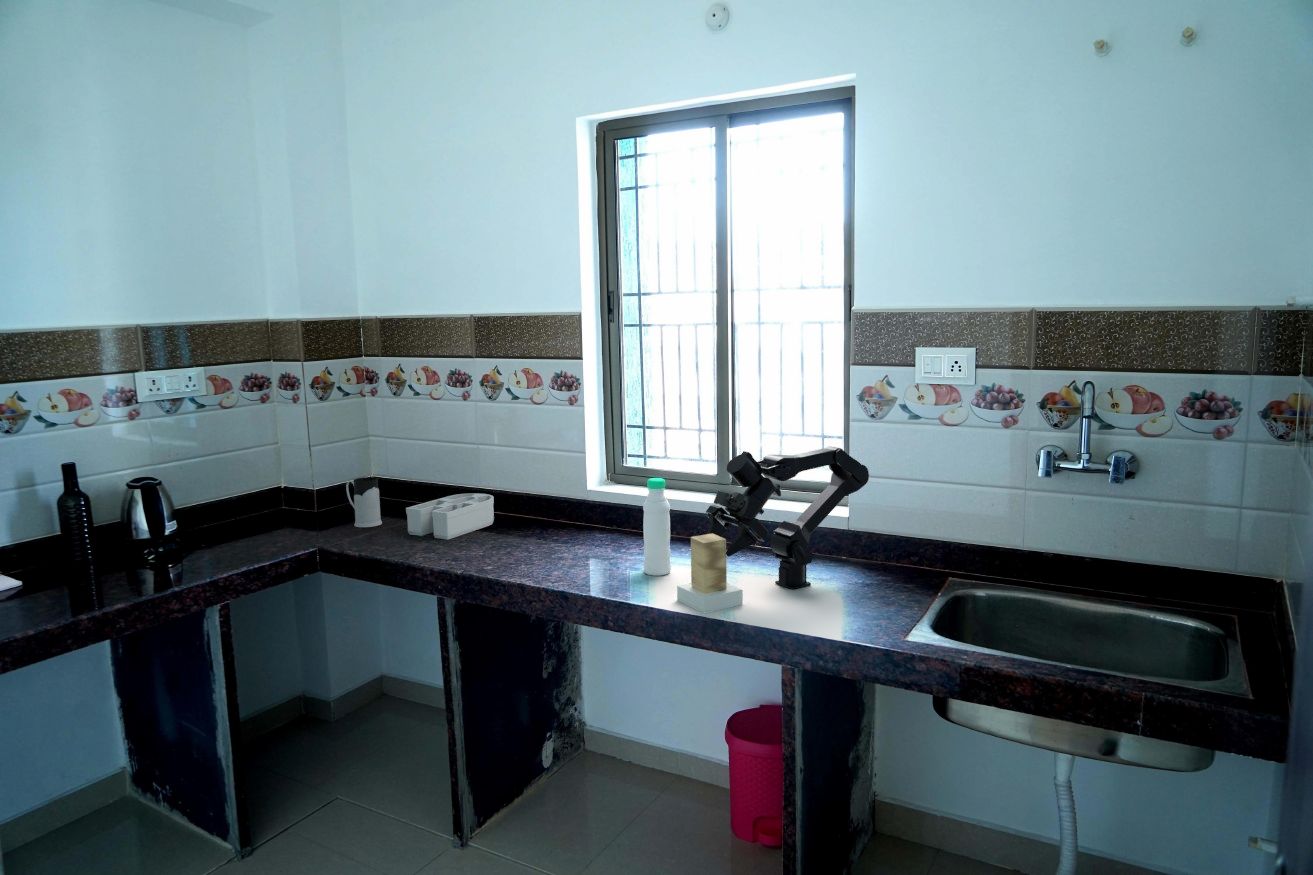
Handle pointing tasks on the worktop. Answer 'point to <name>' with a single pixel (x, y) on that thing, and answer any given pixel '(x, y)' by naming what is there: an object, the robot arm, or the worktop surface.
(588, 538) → the worktop surface
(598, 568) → the worktop surface
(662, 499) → the water bottle
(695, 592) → the grey base block
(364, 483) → the white and grey pitcher
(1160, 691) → the worktop surface
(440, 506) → the white compartment organizer
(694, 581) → the honey wood block
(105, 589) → the worktop surface
